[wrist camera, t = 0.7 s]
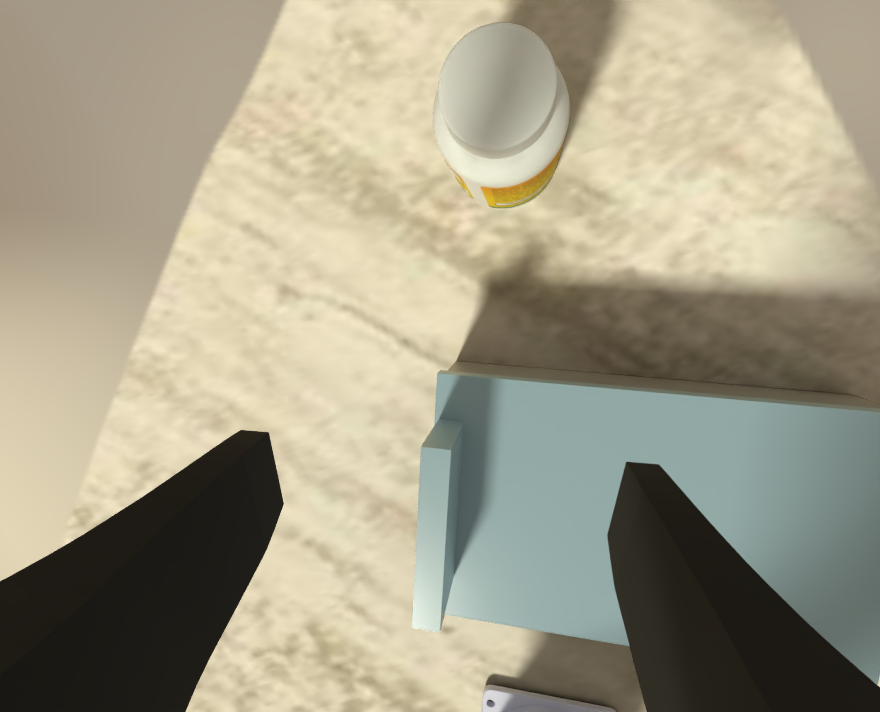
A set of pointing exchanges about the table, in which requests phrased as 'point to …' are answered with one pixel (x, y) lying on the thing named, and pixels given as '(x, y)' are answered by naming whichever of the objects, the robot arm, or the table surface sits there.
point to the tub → (665, 384)
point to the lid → (596, 488)
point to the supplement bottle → (501, 114)
